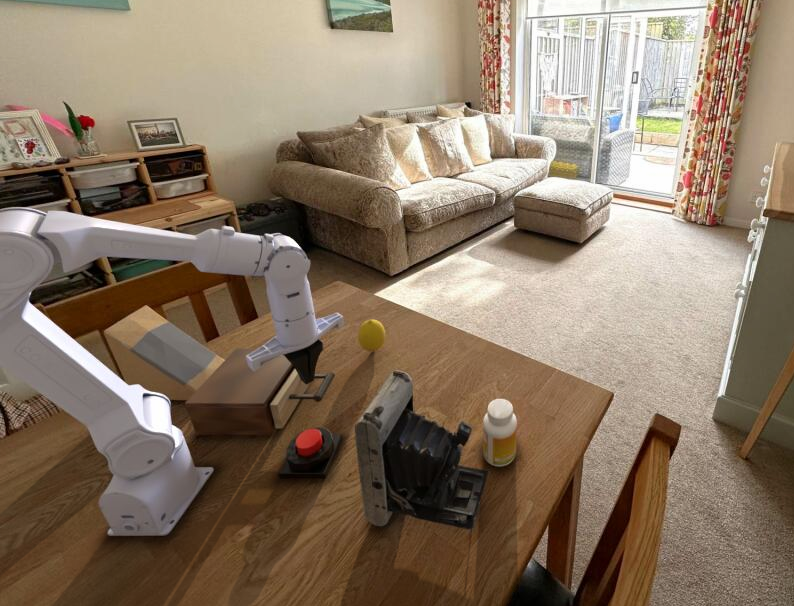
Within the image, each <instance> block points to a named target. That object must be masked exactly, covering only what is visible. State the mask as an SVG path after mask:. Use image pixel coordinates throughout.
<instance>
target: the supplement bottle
mask: <svg viewBox="0 0 794 606" xmlns="http://www.w3.org/2000/svg"><path fill="white" fill-rule="evenodd" d="M482 421H483V422H482V451H483V452H482V454H483V457H484V459H485V461H486V462H487V463H488V464H490V466H494V467H498V468H499V467H505V466H508V465H510V464H511V463H512V462H513V461H514V460H515V457H516V454H517V435H518V434H517V433H518V432H517V431H518V421H517V416H516V415H515V414H514V407H513V405H512V403H511V402H510V401H509V400H508V399H505V398H496V399H493V400H492V401H490V402H489V403H488V406H487V412H486V413H485V415H484V417H483V420H482Z"/></svg>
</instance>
